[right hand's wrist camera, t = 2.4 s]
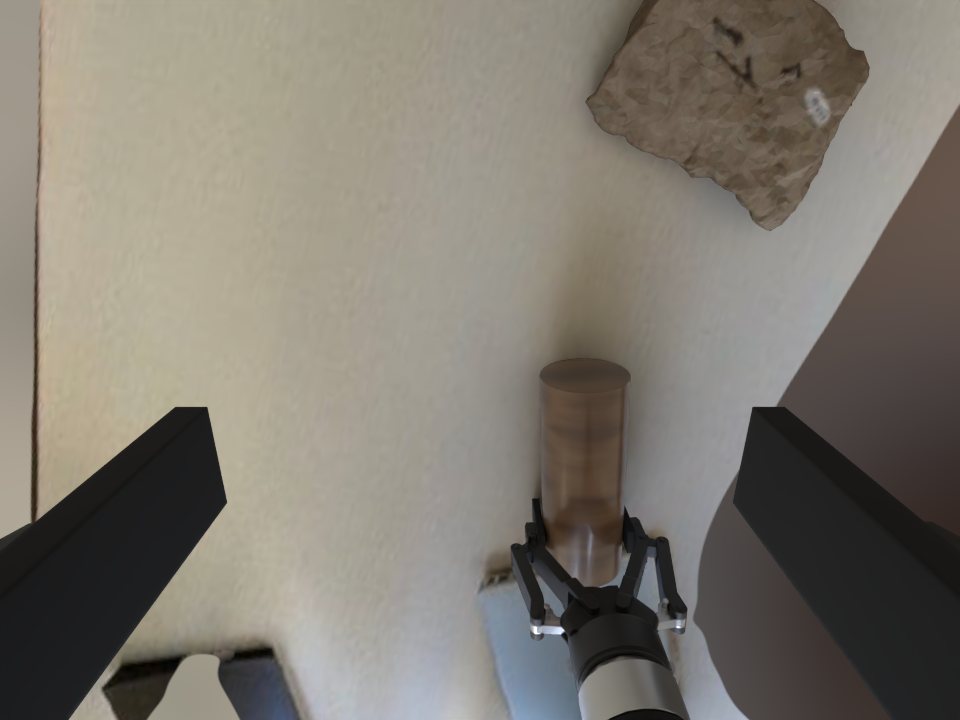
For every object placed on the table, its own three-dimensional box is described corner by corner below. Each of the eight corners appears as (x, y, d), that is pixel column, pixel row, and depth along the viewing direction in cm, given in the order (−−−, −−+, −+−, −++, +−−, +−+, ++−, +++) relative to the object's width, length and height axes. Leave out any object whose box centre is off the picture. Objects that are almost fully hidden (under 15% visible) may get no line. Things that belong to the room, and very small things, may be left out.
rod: (535, 360, 56) (545, 395, 47) (618, 356, 55) (642, 390, 47) (538, 534, 64) (547, 589, 55) (611, 531, 63) (630, 586, 55)
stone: (902, 72, 43) (938, 71, 38) (767, 227, 51) (782, 244, 45) (683, -67, 42) (690, -88, 37) (581, 111, 50) (575, 115, 45)
